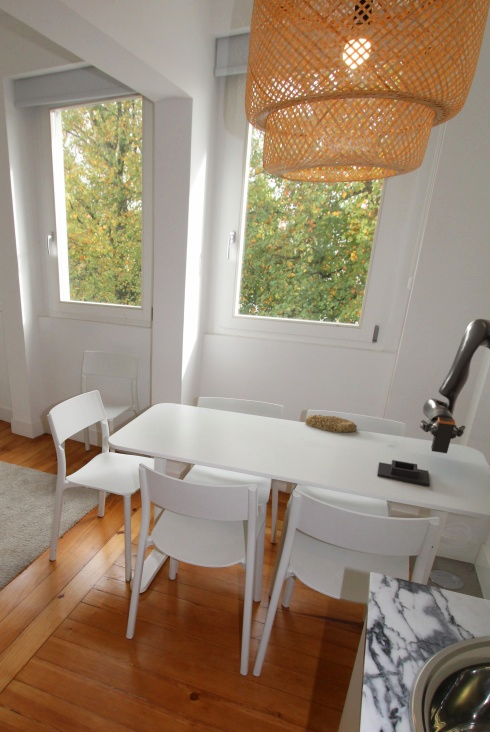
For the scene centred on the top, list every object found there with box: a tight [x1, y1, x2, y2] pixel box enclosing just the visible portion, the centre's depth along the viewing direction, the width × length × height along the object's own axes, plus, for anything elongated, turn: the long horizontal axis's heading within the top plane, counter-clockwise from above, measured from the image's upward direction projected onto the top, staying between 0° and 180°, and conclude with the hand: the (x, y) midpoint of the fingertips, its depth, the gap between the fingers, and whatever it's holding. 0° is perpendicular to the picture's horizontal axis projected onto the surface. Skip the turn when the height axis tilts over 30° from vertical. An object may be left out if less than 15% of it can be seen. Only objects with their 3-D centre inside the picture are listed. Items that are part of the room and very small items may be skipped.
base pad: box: [377, 459, 430, 487], centre depth 166 cm, size 16×12×4 cm
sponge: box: [305, 414, 358, 433], centre depth 207 cm, size 13×8×20 cm
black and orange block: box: [430, 417, 456, 454], centre depth 159 cm, size 5×5×11 cm
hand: (444, 434), depth 156 cm, fingers closed on black and orange block, 4 cm apart
